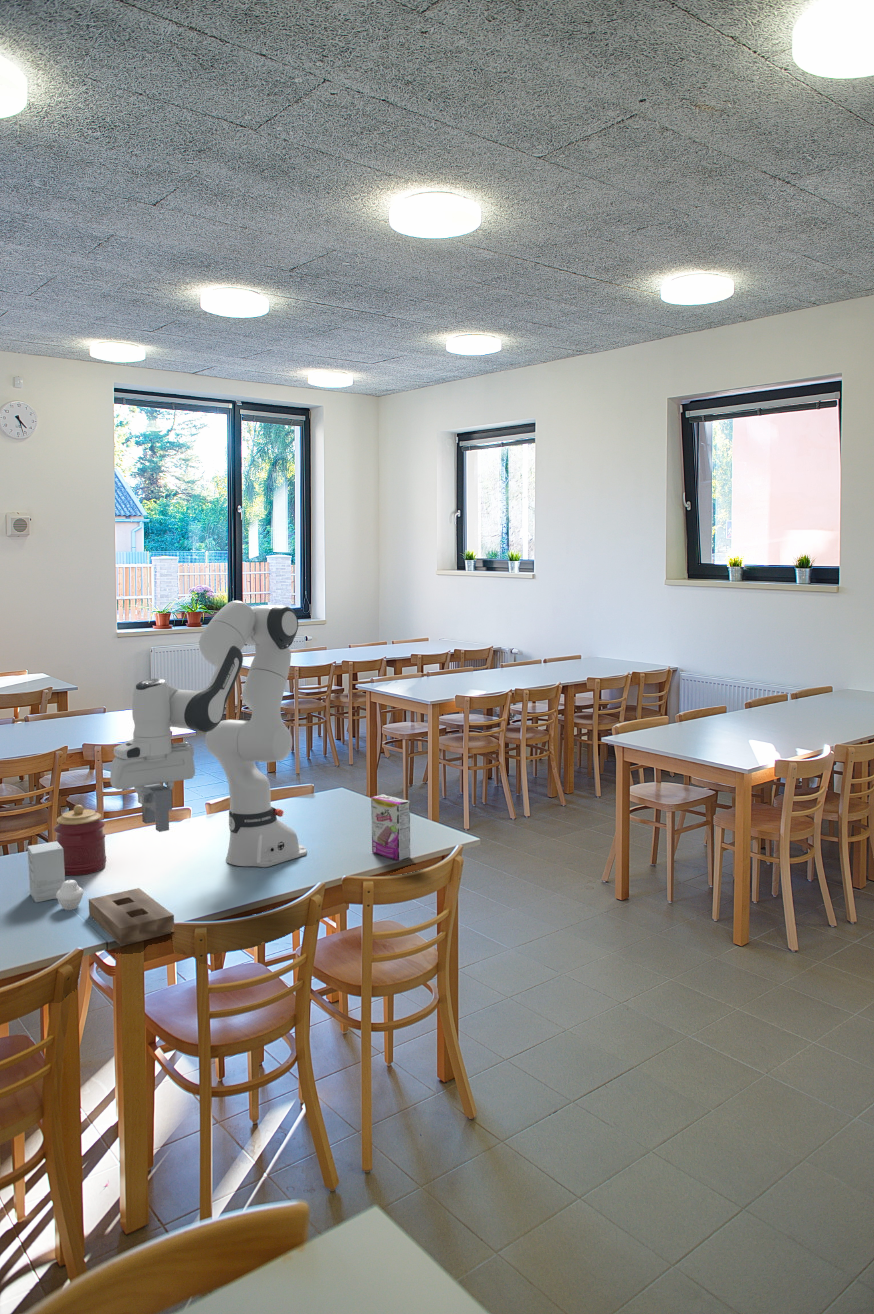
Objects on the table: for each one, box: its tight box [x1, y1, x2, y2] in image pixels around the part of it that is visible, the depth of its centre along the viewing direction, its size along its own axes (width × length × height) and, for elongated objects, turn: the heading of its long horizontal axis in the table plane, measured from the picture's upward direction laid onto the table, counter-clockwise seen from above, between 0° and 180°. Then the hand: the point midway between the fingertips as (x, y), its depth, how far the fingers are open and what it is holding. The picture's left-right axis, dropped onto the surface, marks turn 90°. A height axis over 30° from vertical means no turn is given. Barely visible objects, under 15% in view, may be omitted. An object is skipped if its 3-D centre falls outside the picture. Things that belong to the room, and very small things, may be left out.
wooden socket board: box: [88, 887, 175, 947], centre depth 213 cm, size 12×22×4 cm, turn 38°
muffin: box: [56, 879, 84, 911], centre depth 223 cm, size 6×6×7 cm
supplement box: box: [26, 841, 66, 903], centre depth 231 cm, size 7×7×13 cm
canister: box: [53, 804, 107, 876], centre depth 251 cm, size 13×13×18 cm
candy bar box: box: [370, 793, 411, 862], centre depth 260 cm, size 11×5×16 cm, turn 47°
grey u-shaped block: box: [137, 783, 173, 833], centre depth 227 cm, size 4×12×10 cm, turn 37°
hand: (154, 801), depth 227 cm, fingers closed on grey u-shaped block, 4 cm apart
